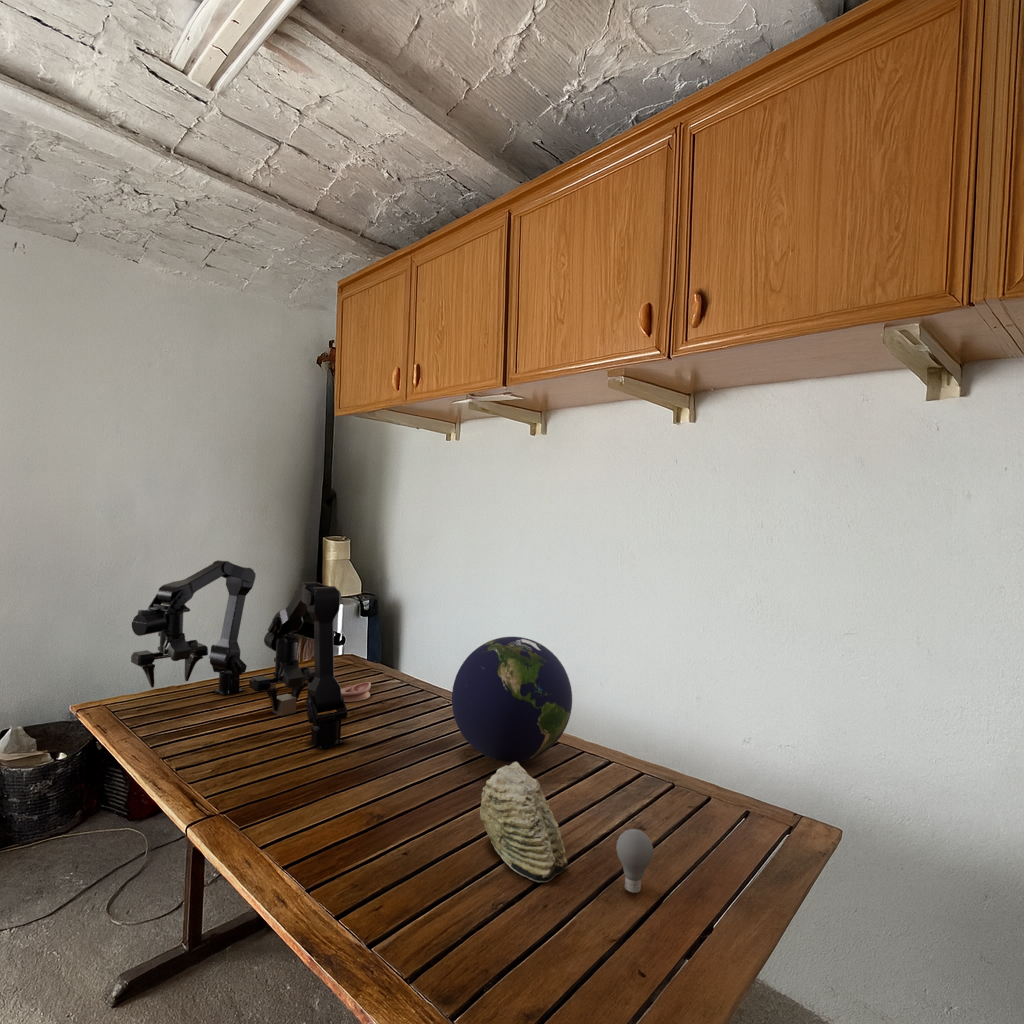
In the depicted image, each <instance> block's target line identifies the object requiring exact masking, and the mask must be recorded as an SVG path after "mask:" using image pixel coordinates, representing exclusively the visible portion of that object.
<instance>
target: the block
mask: <svg viewBox="0 0 1024 1024" xmlns="http://www.w3.org/2000/svg"><path fill="white" fill-rule="evenodd" d="M271 710H272V713H273V714H275V715H277V716H280V717H284V716H288V715H293V714H296V713H297V702H296V697H294V696H292V695H291V694H289V693H284V694H280V695H277V711H274V709H273V708H272V709H271Z"/></svg>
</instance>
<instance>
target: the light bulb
mask: <svg viewBox="0 0 1024 1024" xmlns="http://www.w3.org/2000/svg"><path fill="white" fill-rule="evenodd" d="M615 849H616V854H617V857H618V859H619V861H620V863H621V865H622V867H623V873H624V874H623V875H624V876H625V878H624V888H625V890H627V891H628V892H630V893H634V894H635V893H639V892H640V891H641V889H642V887H641V886H642V879H643V877H644V875H645V871H646V868H647V867H648V866H649V864H650V863H651V861H652V859H653V855H654V847H653V843H652V841H651V838H649V836H648V835H647V834H646V833H645V832H643V831H642V830H641V829H636V828H629V829H627V830H625V831H623V832H622V833H621V834H620V835H619V837H618V839H617V841H616V847H615Z"/></svg>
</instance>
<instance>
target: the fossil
mask: <svg viewBox="0 0 1024 1024" xmlns="http://www.w3.org/2000/svg"><path fill="white" fill-rule="evenodd" d="M479 819H480V820H481V822H482V823H483V827H484V829H485V832H486V833H487V836H488V838H489V840H490V842H491V844H492V845H493V848H494V850H495V852H496V853H497V854H498V856H500V858H501V859H502V861H503V862H504V863H505V864H506V865H507V867H509V868H510V869H511V870H513V871H514V873H517V874H519V875H520V876H522V877H525V878H527V879H528V880H531V881H533V882H536V883H548V882H550V881H552V880H553V879H554V878H555V877H556V876H557V875H560V874H561V873H563V872H564V871H565V870H566V868H567V867H568V866H569V863H568V859H567V856H566V848H565V847H564V841H563V838H562V834H561V831H560V826H559V824H558V822H557V821H556V818H555V817H554V813H553V811H552V810H551V807H550V805H549V803H548V802H547V799H546V796H545V794H544V790H543V789H542V786H541V784H540V781H539V780H537V779H535V778H533V777H532V776H531V775H529V773H528V772H527V771H526V769H524V768H523V766H521V764H520V762H511V763H510V764H509V765H507V764H506V765H504V766H502V767H500V768H498V769H497V770H496V772H495V773H494V774H492V775H491V776H490V778H489V779H487V780H486V782H485V786H483V788H482V792H481V802H480V808H479Z"/></svg>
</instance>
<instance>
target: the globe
mask: <svg viewBox="0 0 1024 1024" xmlns="http://www.w3.org/2000/svg"><path fill="white" fill-rule="evenodd" d="M568 675H569V674H568V673H567V671H566V669H565V667H564V665H563V663H562V662H561V661H560V659H559V658H558V657H557V656H556V655H555V654H554V652H553V651H551V650H550V649H549V648H547V647H546V646H545V645H543V644H542V643H539V642H538V641H536V640H533V639H531V638H527V637H522V636H502V637H497V638H494V639H491V640H488V641H487V642H484V643H483V644H481V645H479V646H478V647H476V648H475V649H474V650H473V651H471V653H470V654H469V655H468V656H467V657H466V658H465V660H464V661H463V662H462V664H461V665H460V667H459V669H458V671H457V672H456V676H455V679H454V681H453V686H452V691H451V707H452V712H453V714H452V715H453V717H454V721H455V723H456V726H457V728H458V730H459V732H460V734H461V735H462V737H463V738H464V740H465V741H466V742H467V743H468V744H469V746H470V747H472V748H473V749H474V750H476V751H477V752H478V753H480V754H481V755H483V756H484V757H487V758H489V759H492V760H495V761H498V762H504V763H514V762H518V763H522V762H526V761H530V760H532V759H535V758H537V757H540V756H541V755H543V754H544V753H546V752H548V750H550V749H551V748H552V747H554V745H556V743H557V742H558V741H559V739H560V738H561V737H562V736H563V734H564V732H565V730H566V728H567V726H568V724H569V721H570V718H571V714H572V709H573V691H572V684H571V681H570V678H569V676H568Z"/></svg>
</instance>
